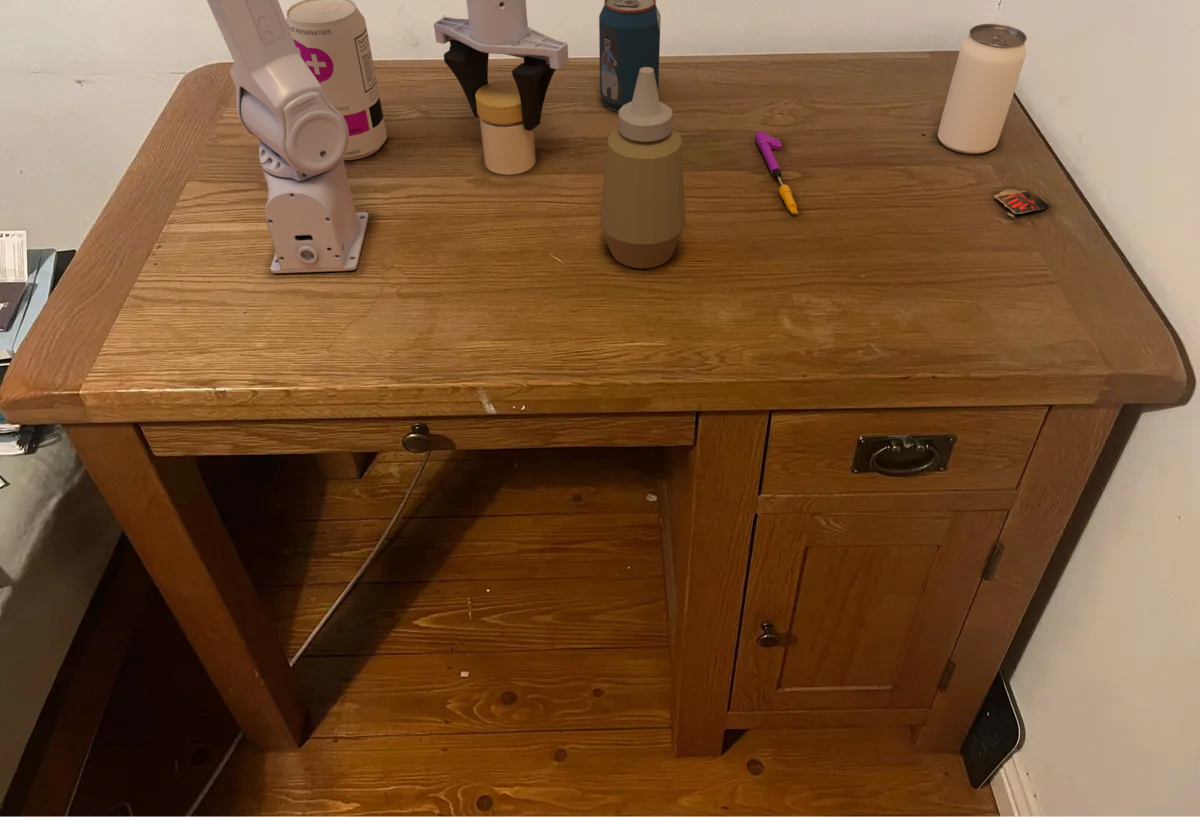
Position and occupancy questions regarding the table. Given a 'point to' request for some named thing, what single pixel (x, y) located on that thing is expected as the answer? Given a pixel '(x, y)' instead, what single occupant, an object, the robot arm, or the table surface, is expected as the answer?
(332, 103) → the supplement can
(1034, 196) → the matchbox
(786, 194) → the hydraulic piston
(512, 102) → the lid
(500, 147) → the jar
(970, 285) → the table surface
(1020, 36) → the can
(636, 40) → the soda can
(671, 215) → the squeeze bottle
